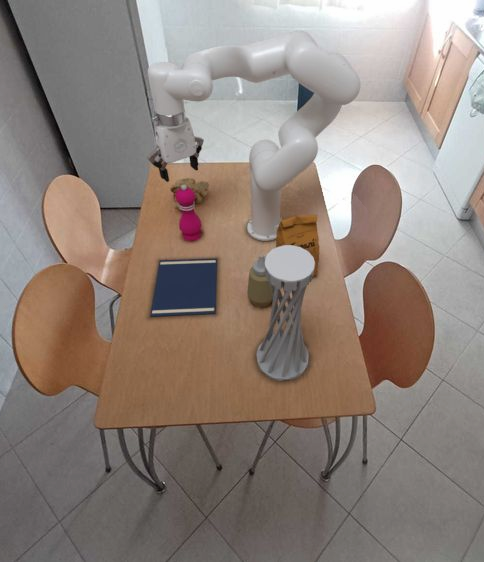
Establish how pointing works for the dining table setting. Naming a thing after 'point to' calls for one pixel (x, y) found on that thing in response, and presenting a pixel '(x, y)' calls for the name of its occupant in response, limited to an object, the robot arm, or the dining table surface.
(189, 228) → the pepper mill
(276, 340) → the twisted lattice pedestal
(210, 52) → the robot arm
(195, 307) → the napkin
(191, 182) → the ginger root
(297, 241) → the coffee package
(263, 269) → the squeeze bottle
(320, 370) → the dining table surface
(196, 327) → the dining table surface
